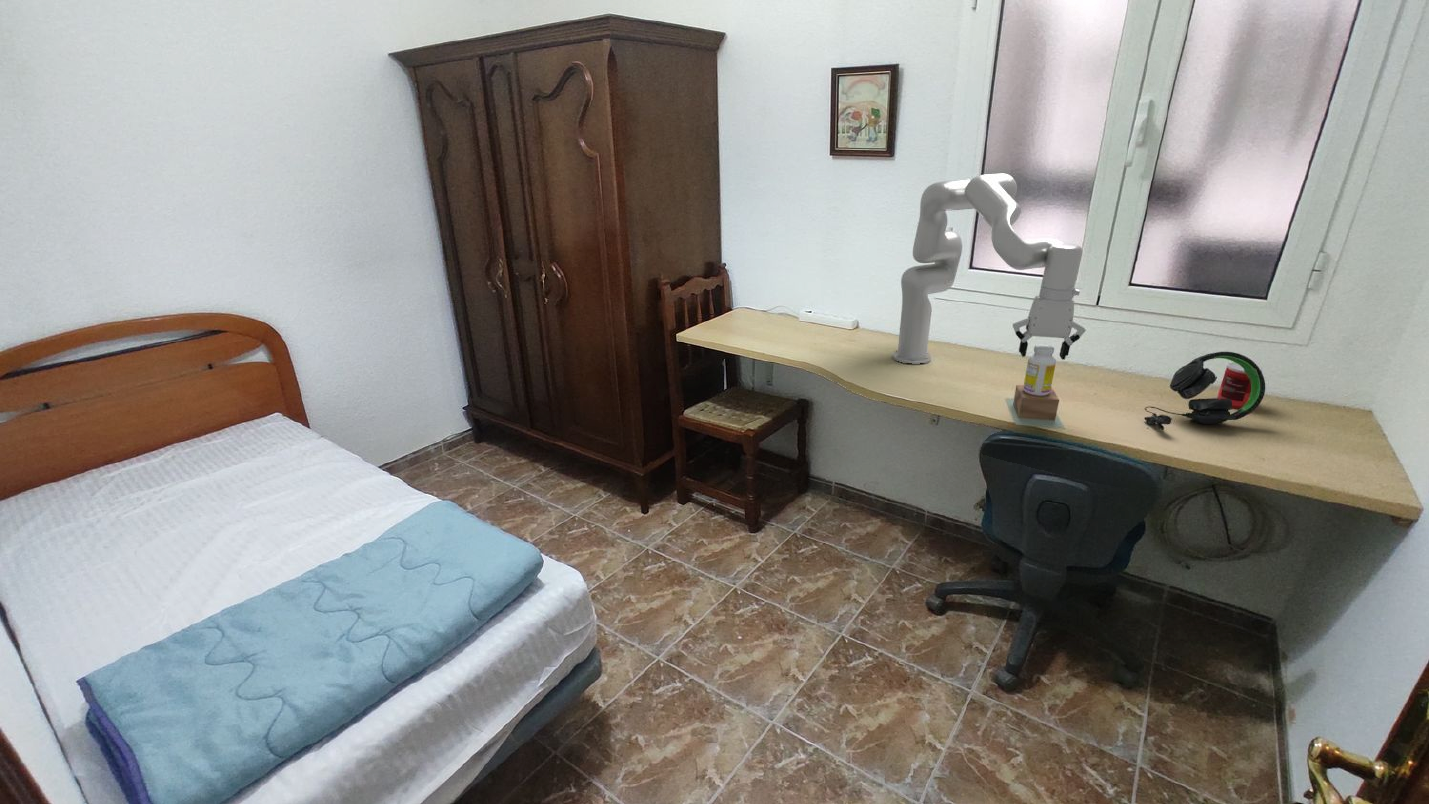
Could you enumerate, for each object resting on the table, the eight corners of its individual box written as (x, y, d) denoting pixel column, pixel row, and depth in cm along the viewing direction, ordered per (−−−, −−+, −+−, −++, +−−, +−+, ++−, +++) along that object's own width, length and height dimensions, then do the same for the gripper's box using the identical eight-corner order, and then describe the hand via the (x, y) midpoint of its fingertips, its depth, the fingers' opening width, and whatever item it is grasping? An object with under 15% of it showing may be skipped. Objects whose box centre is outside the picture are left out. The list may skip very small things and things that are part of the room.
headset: (1154, 450, 174) (1264, 401, 168) (1178, 452, 160) (1299, 400, 155) (1120, 391, 176) (1228, 341, 171) (1141, 389, 163) (1259, 335, 157)
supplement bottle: (1049, 389, 175) (1058, 344, 170) (1049, 398, 170) (1059, 352, 165) (1022, 385, 178) (1030, 341, 173) (1022, 394, 172) (1030, 349, 167)
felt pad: (1004, 399, 186) (1004, 397, 185) (1049, 402, 183) (1049, 401, 183) (1015, 426, 170) (1015, 424, 170) (1064, 430, 167) (1065, 428, 167)
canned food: (1243, 399, 182) (1255, 363, 177) (1254, 410, 175) (1268, 373, 171) (1211, 396, 184) (1223, 360, 180) (1221, 407, 177) (1233, 370, 173)
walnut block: (1012, 404, 181) (1016, 384, 179) (1047, 407, 179) (1051, 387, 177) (1018, 417, 173) (1022, 397, 171) (1054, 420, 171) (1059, 400, 169)
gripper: (1089, 291, 164) (1074, 353, 171) (1016, 288, 168) (1005, 349, 175) (1097, 299, 158) (1081, 364, 165) (1022, 295, 161) (1009, 359, 169)
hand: (1042, 356), depth 170 cm, fingers open, 9 cm apart
